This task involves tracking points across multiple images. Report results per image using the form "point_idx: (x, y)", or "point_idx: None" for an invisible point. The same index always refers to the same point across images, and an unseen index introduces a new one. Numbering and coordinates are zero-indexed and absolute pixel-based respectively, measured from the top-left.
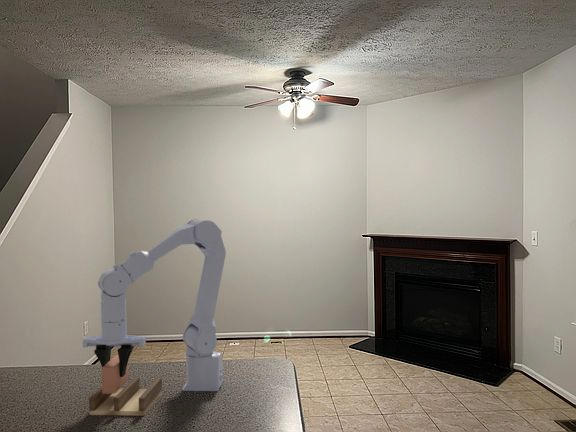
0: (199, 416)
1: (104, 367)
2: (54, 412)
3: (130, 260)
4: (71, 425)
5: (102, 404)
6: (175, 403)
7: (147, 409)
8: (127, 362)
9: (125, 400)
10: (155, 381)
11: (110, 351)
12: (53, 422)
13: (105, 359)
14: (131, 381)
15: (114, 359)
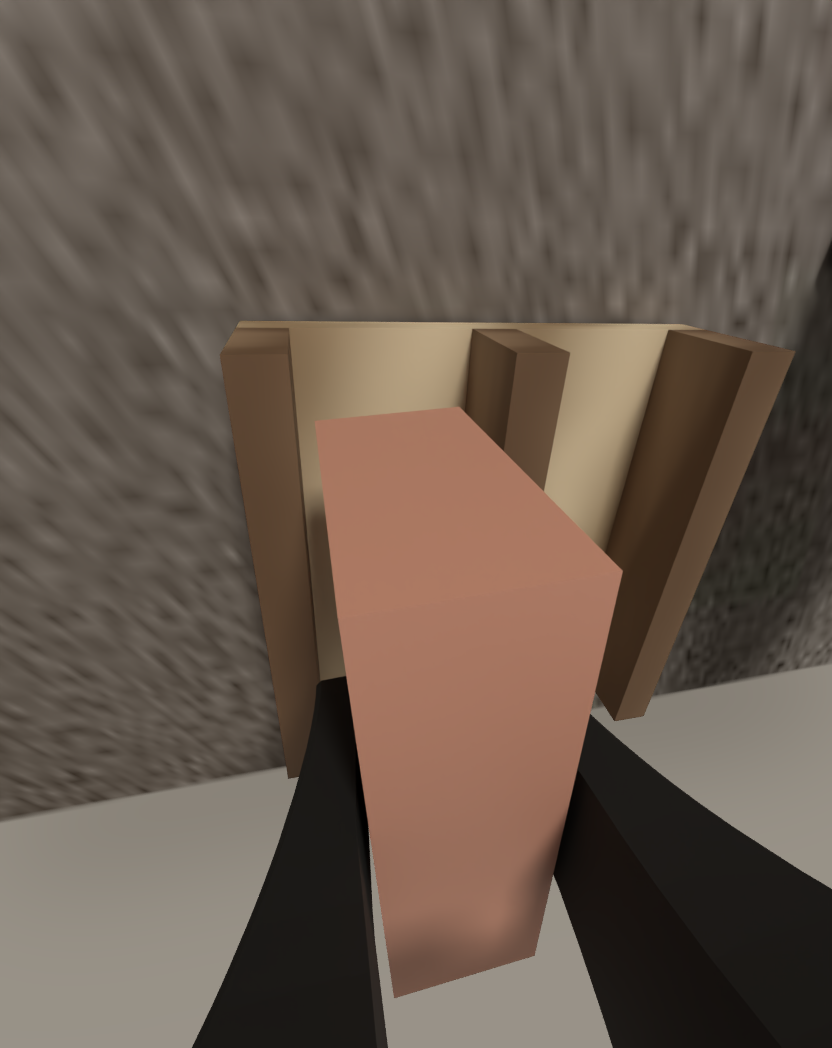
0: (821, 597)
1: (418, 983)
2: (4, 681)
3: None
4: (256, 759)
5: (326, 628)
6: (745, 479)
7: None
8: (615, 743)
9: None
10: (727, 459)
11: (374, 1027)
12: (127, 760)
13: (383, 1021)
14: None
15: (427, 815)
